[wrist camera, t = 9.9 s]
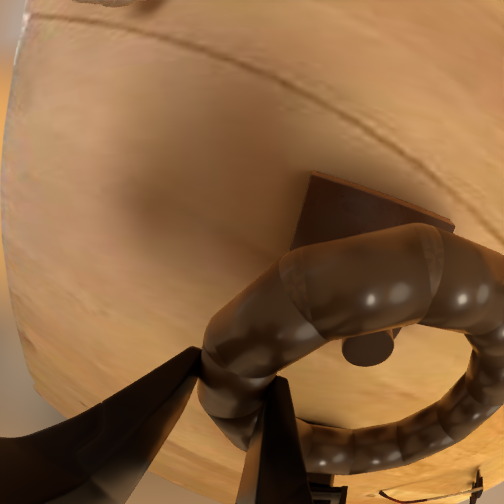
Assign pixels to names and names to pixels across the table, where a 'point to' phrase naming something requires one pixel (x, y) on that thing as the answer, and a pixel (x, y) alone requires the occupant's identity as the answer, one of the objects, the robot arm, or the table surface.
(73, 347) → the table surface
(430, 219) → the peg stand
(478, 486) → the sunglasses
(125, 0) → the mug
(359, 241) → the ring
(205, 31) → the table surface
